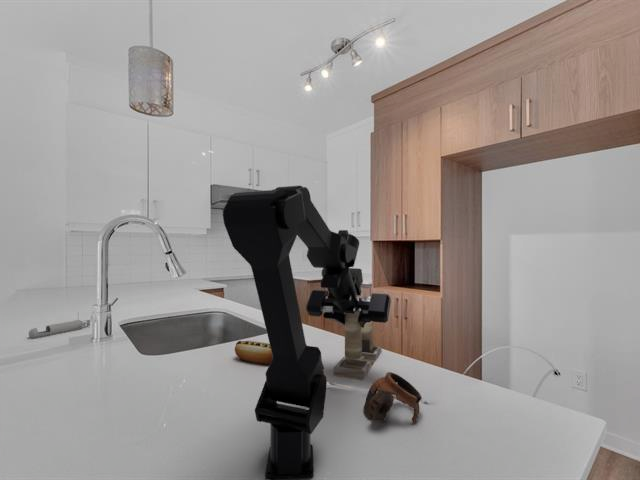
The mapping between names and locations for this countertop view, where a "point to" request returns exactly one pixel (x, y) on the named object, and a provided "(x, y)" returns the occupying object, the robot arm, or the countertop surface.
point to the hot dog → (254, 351)
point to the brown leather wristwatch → (390, 396)
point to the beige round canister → (353, 336)
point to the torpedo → (58, 328)
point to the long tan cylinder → (367, 337)
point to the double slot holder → (357, 365)
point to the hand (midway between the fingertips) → (354, 325)
